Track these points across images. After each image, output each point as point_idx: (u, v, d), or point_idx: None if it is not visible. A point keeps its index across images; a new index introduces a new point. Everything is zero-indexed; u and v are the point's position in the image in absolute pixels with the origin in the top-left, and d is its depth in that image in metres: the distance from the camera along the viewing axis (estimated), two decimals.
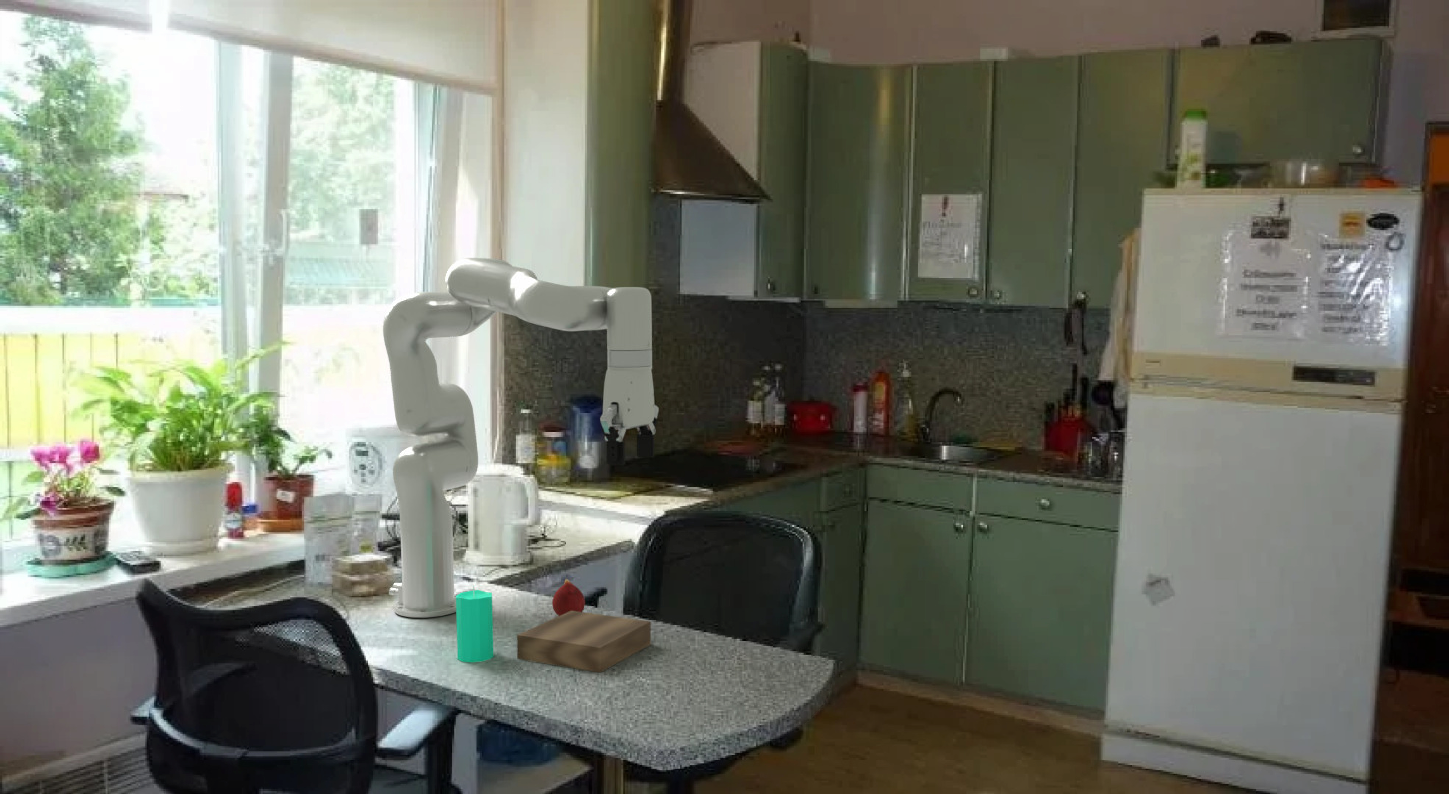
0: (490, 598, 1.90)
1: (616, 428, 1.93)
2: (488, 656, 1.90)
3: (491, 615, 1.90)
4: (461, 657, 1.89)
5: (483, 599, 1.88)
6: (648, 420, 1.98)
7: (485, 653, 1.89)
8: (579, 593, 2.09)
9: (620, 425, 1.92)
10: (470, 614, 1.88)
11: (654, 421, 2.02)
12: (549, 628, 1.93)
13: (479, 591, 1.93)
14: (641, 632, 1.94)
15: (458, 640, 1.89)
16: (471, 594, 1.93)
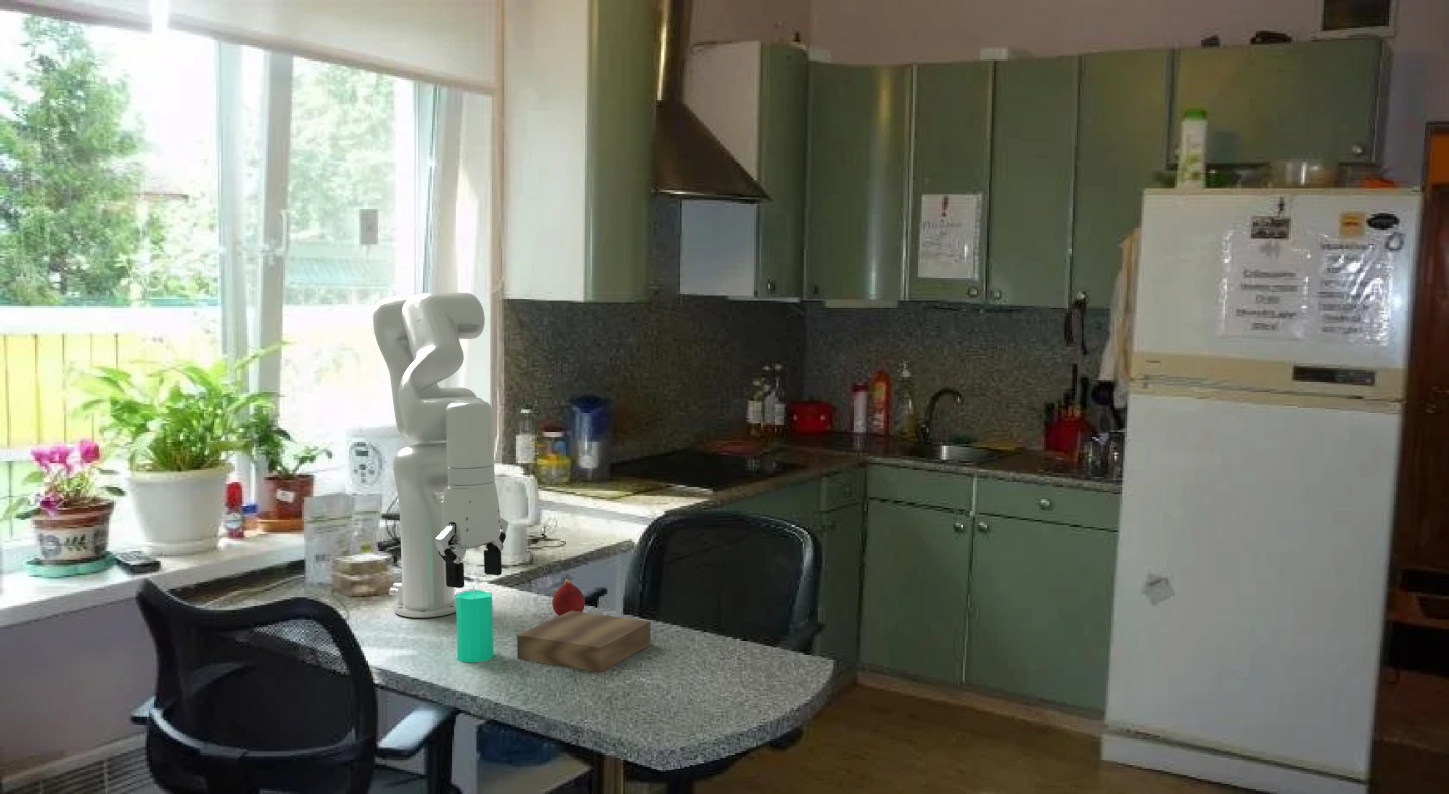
0: (490, 598, 1.90)
1: (455, 548, 1.86)
2: (488, 656, 1.90)
3: (491, 615, 1.90)
4: (461, 657, 1.89)
5: (483, 599, 1.88)
6: (492, 537, 1.91)
7: (485, 653, 1.89)
8: (579, 593, 2.09)
9: (458, 546, 1.85)
10: (471, 614, 1.88)
11: (502, 536, 1.95)
12: (549, 628, 1.93)
13: (479, 591, 1.93)
14: (641, 632, 1.94)
15: (458, 640, 1.89)
16: (471, 594, 1.93)
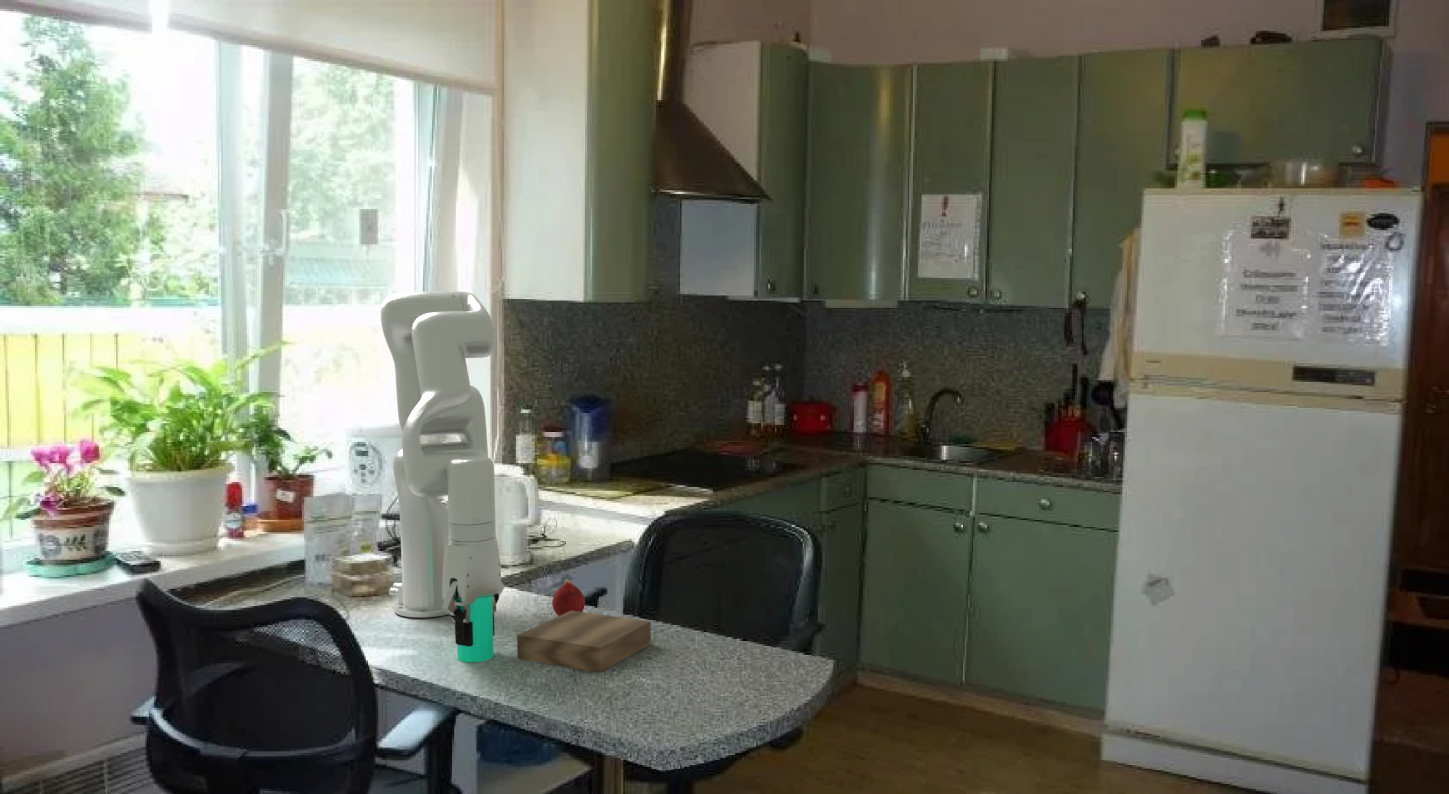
0: (490, 598, 1.90)
1: None
2: (488, 656, 1.90)
3: (491, 615, 1.90)
4: (461, 657, 1.89)
5: (483, 599, 1.88)
6: (493, 591, 1.92)
7: (485, 653, 1.89)
8: (579, 593, 2.09)
9: (464, 605, 1.87)
10: (471, 614, 1.88)
11: (495, 598, 1.94)
12: (549, 628, 1.93)
13: None
14: (641, 632, 1.94)
15: None
16: None
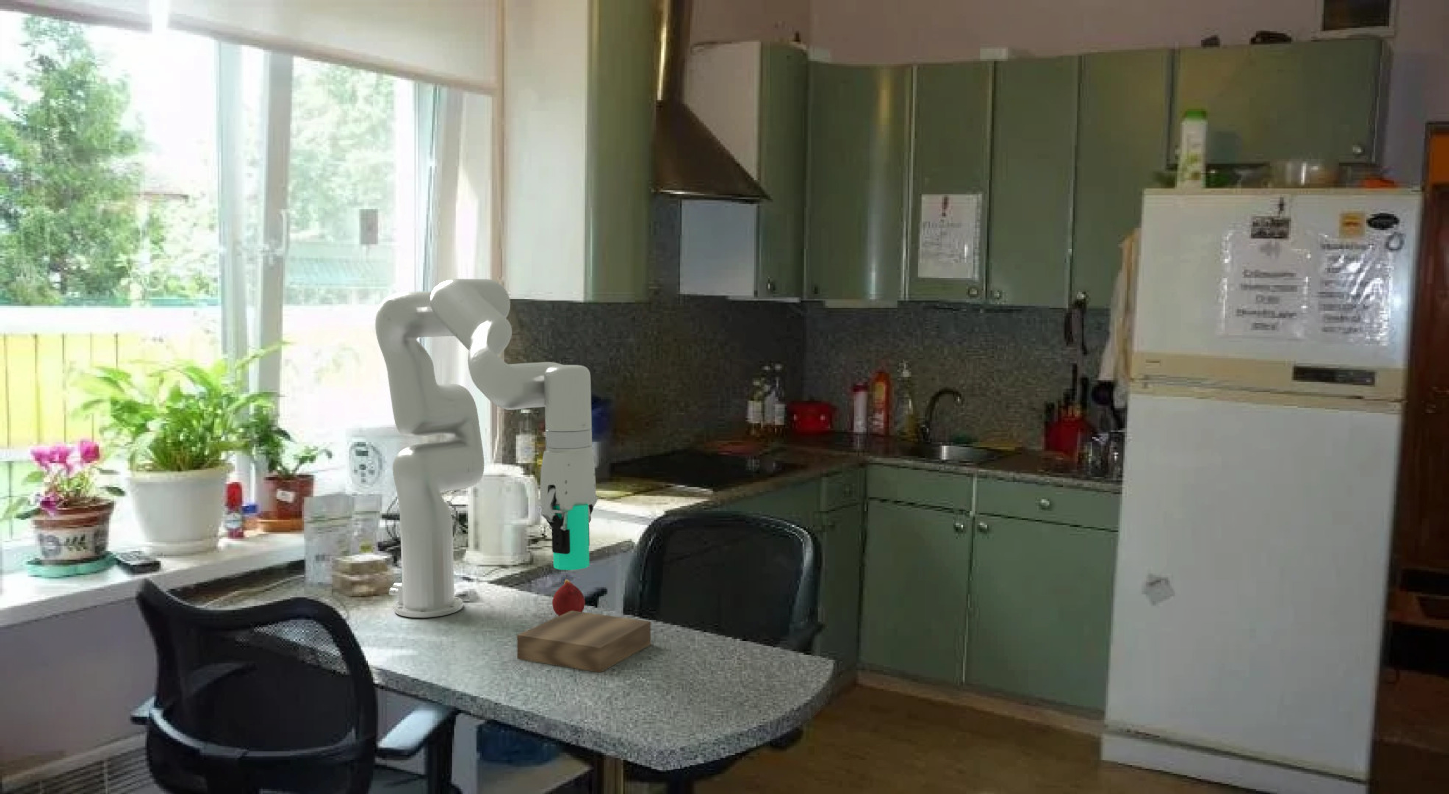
0: (586, 507, 1.90)
1: None
2: (584, 564, 1.90)
3: (587, 524, 1.91)
4: (558, 565, 1.90)
5: (580, 507, 1.89)
6: (588, 501, 1.92)
7: (582, 561, 1.90)
8: (579, 593, 2.09)
9: (562, 513, 1.88)
10: (568, 521, 1.88)
11: (590, 508, 1.95)
12: (549, 628, 1.93)
13: None
14: (641, 632, 1.94)
15: None
16: None
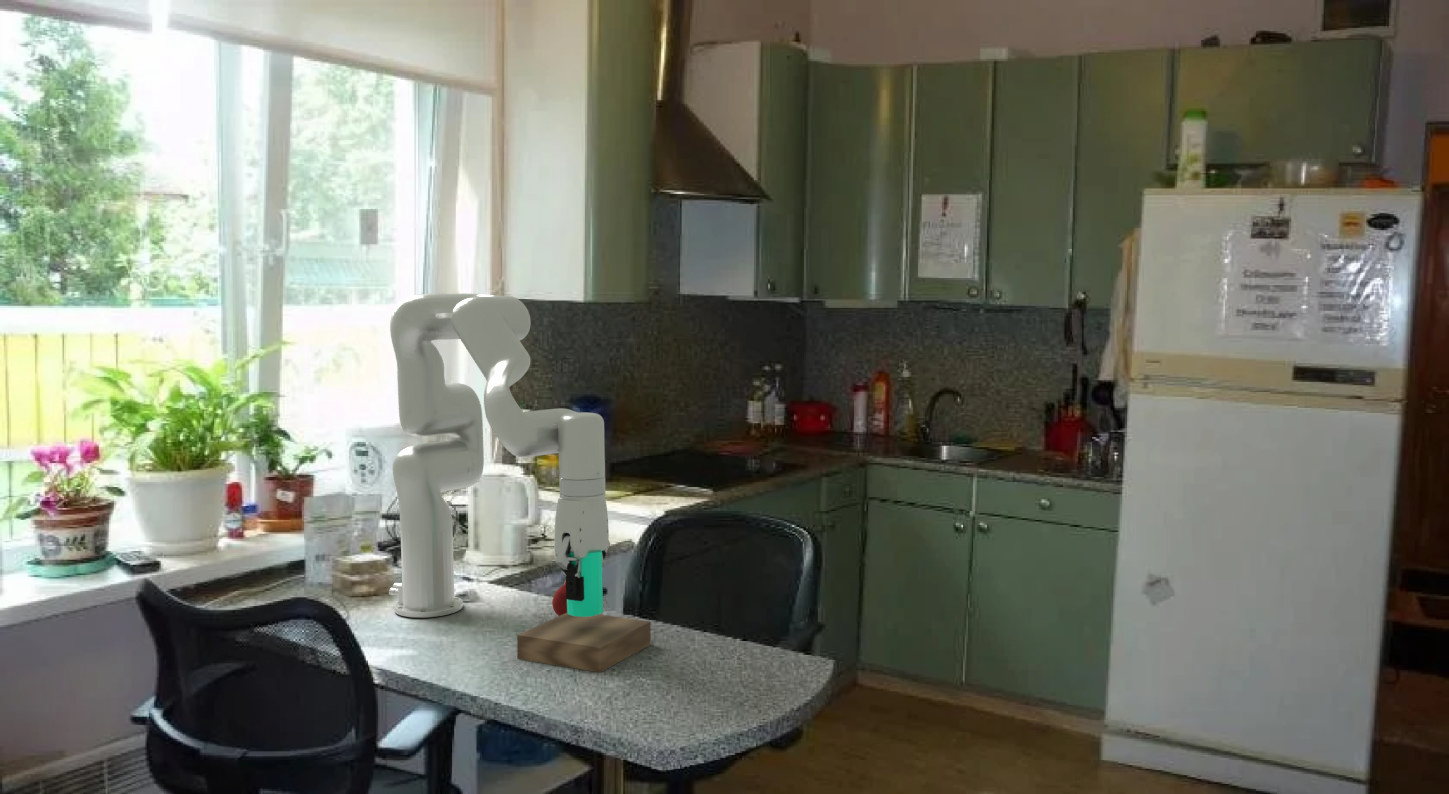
0: (600, 553, 1.92)
1: None
2: (598, 611, 1.91)
3: (601, 570, 1.92)
4: (572, 611, 1.91)
5: (594, 554, 1.90)
6: (602, 547, 1.93)
7: (596, 608, 1.91)
8: None
9: (576, 560, 1.89)
10: (582, 568, 1.89)
11: (603, 554, 1.96)
12: (549, 628, 1.93)
13: None
14: (641, 632, 1.94)
15: None
16: None
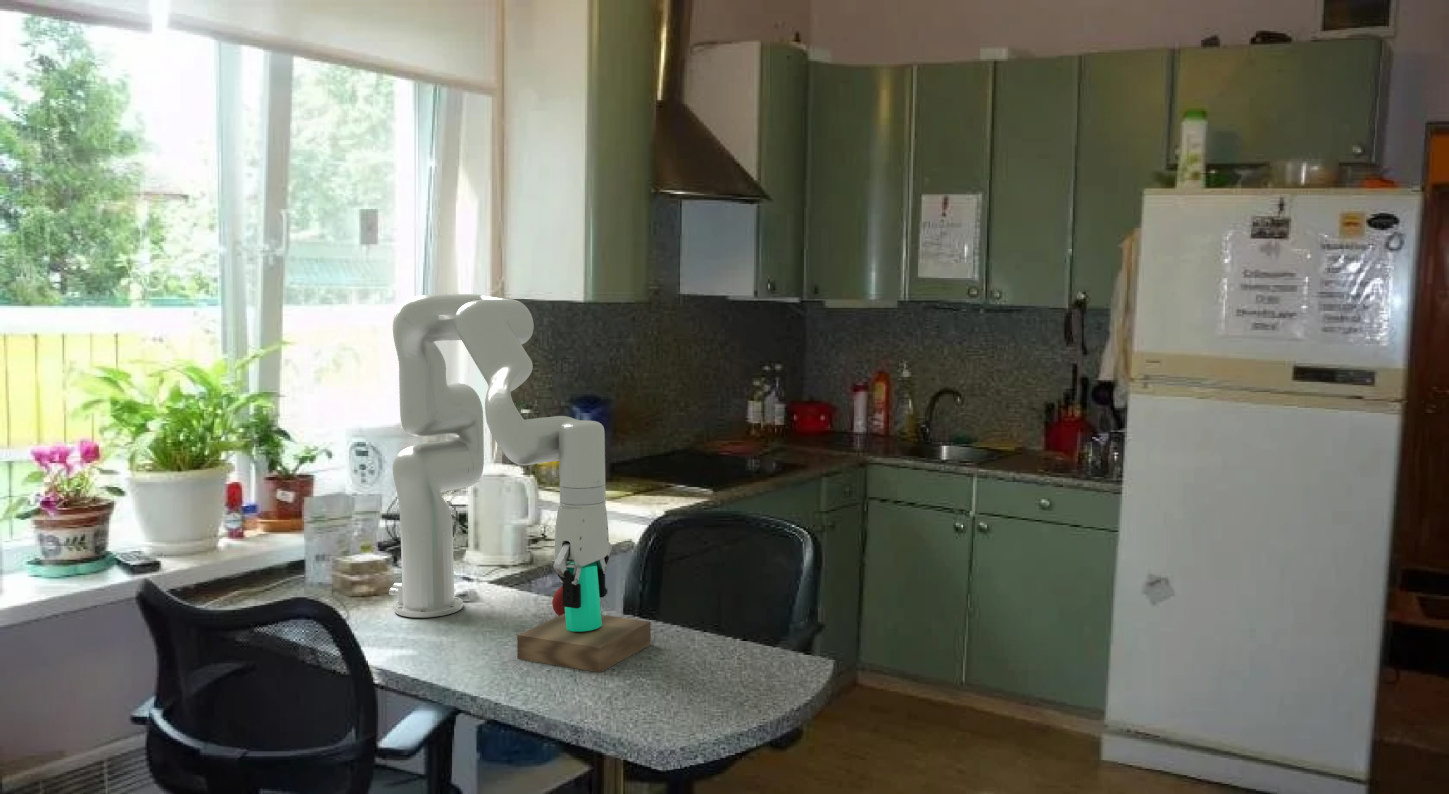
0: (595, 567, 1.92)
1: (571, 568, 1.90)
2: (597, 625, 1.92)
3: (597, 584, 1.93)
4: (571, 627, 1.91)
5: (589, 568, 1.91)
6: (602, 555, 1.94)
7: (594, 622, 1.91)
8: None
9: (574, 567, 1.88)
10: (578, 583, 1.90)
11: (605, 559, 1.97)
12: (549, 628, 1.93)
13: None
14: (641, 632, 1.94)
15: (567, 611, 1.92)
16: None
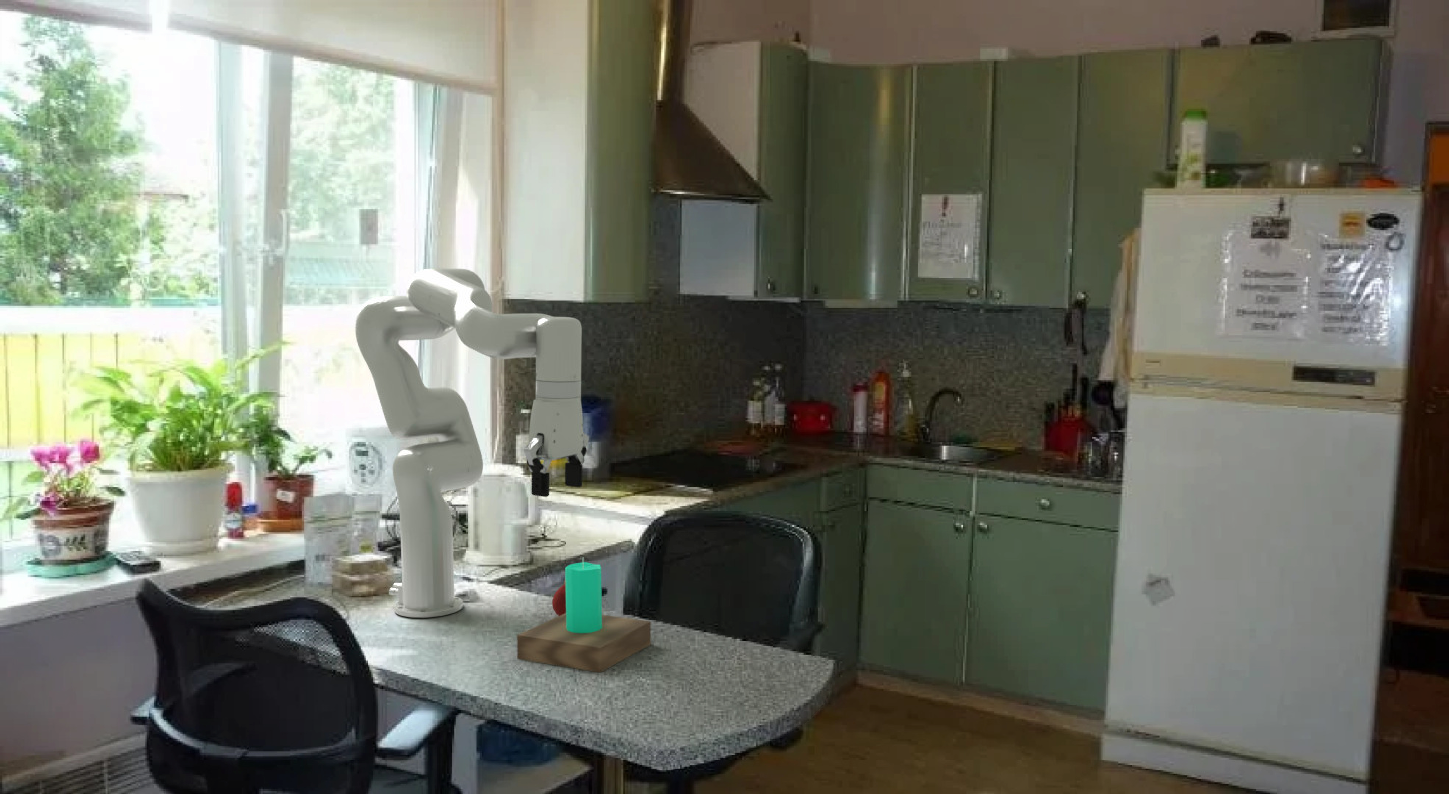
0: (599, 570, 1.92)
1: (541, 459, 1.92)
2: (597, 627, 1.92)
3: (600, 587, 1.92)
4: (571, 628, 1.91)
5: (593, 570, 1.90)
6: (576, 450, 1.97)
7: (595, 624, 1.91)
8: None
9: (545, 456, 1.91)
10: (581, 585, 1.90)
11: (583, 450, 2.01)
12: (549, 628, 1.93)
13: (587, 563, 1.95)
14: (641, 632, 1.94)
15: (568, 611, 1.91)
16: (579, 566, 1.95)
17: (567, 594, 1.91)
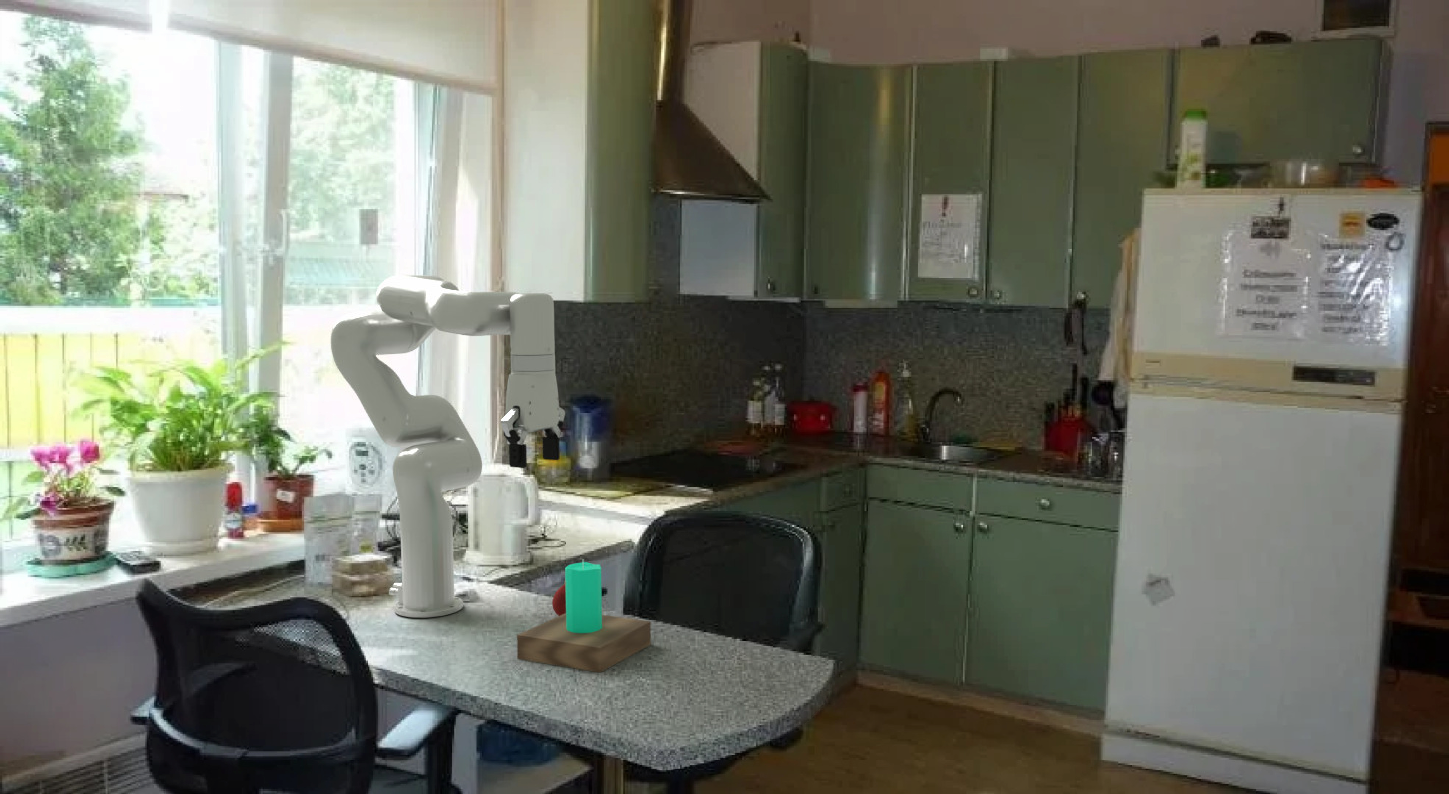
0: (599, 570, 1.92)
1: (518, 431, 1.97)
2: (597, 627, 1.92)
3: (600, 587, 1.92)
4: (571, 628, 1.91)
5: (593, 570, 1.90)
6: (552, 423, 2.02)
7: (595, 624, 1.91)
8: None
9: (522, 428, 1.96)
10: (581, 585, 1.90)
11: (560, 424, 2.06)
12: (549, 628, 1.93)
13: (587, 563, 1.95)
14: (641, 632, 1.94)
15: (568, 611, 1.91)
16: (579, 566, 1.95)
17: (567, 594, 1.91)
